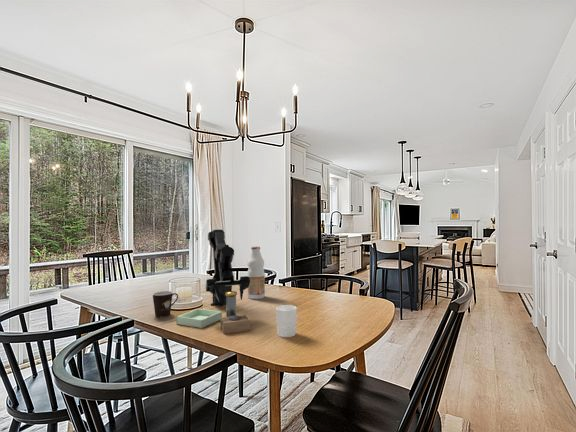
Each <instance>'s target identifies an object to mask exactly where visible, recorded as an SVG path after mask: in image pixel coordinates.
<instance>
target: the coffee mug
mask: <svg viewBox="0 0 576 432" xmlns="http://www.w3.org/2000/svg"><path fill="white" fill-rule="evenodd" d="M174 295H175V296H176V299H175V300H174V301H173V296H174ZM178 299H179V294H178V293H177V292H176V293H175V292H174V293H173V291H171V290H162V291H156V292H153V293H152V300H153V309H154V314H155V315H154V317H156V318H165V317H169V316H171V313H172V312H171V311H172V306H173V305H175V304H176V302H177V301H178Z"/></svg>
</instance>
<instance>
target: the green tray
mask: <svg viewBox="0 0 576 432" xmlns="http://www.w3.org/2000/svg"><path fill="white" fill-rule="evenodd" d="M222 314H223V312H222V311H220V310H212V309H205V308H195V309H193V310H191V311H188V312H185V313H183V314H180V315H177V316H176V325H182V326H188V327H193V328H200V329H203V328H205V327H208V326H209V325H212V324H214V323H216V322H218V321H221V318H223V317H222V316H223V315H222Z"/></svg>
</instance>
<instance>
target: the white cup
mask: <svg viewBox="0 0 576 432" xmlns="http://www.w3.org/2000/svg"><path fill="white" fill-rule="evenodd" d="M297 309H298V308H297V307H296V305H291V304H282V305H278V306H276V307H275V318H276V328H277V336H279V337H281V338H292V337H294V336H296V333H297V332H296V330H297V314H298V312H297V311H298V310H297Z"/></svg>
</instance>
